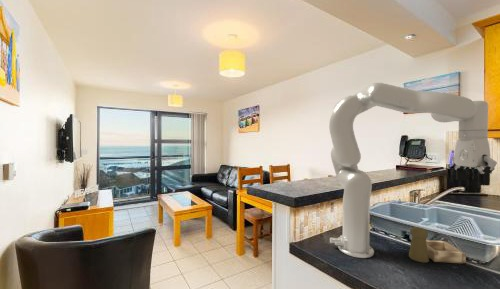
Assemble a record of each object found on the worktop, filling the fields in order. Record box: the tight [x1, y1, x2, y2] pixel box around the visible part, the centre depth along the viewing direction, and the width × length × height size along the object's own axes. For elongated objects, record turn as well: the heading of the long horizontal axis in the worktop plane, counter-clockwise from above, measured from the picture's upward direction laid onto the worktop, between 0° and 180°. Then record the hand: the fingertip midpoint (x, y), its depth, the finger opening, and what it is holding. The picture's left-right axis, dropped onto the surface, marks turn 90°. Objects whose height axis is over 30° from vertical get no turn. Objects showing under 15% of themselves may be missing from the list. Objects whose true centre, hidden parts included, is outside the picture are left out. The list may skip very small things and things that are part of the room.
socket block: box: [426, 239, 467, 264], centre depth 84 cm, size 10×10×4 cm
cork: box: [408, 226, 430, 263], centre depth 82 cm, size 6×6×11 cm
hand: (471, 182), depth 82 cm, fingers open, 9 cm apart
